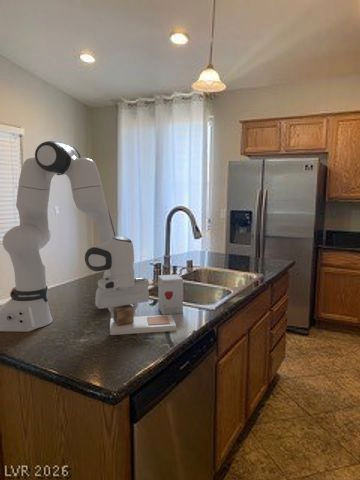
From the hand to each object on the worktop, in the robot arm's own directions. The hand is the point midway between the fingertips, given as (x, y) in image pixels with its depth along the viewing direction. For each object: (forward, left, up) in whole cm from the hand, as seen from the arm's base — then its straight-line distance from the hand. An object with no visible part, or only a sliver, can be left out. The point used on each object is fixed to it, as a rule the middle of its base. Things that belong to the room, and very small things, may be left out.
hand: (123, 316), depth 139 cm
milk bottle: (-5, +36, -5) cm, 37 cm away
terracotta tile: (+13, 0, -3) cm, 13 cm away
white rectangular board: (+7, 0, -5) cm, 8 cm away
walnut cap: (0, 0, -2) cm, 2 cm away
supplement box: (+20, +16, -5) cm, 26 cm away
